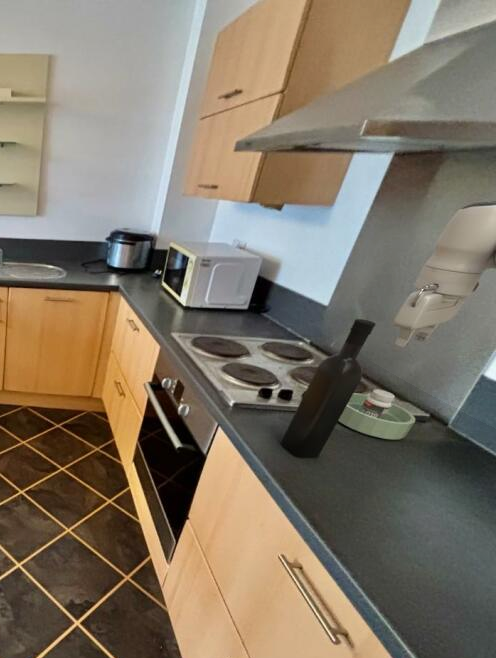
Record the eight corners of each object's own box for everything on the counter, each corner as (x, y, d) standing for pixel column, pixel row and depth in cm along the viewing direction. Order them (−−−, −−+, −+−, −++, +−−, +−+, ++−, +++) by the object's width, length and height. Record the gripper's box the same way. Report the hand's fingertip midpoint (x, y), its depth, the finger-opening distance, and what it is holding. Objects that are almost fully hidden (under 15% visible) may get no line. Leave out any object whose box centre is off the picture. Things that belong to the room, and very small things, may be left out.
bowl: (415, 433, 101) (426, 416, 98) (386, 447, 95) (397, 429, 92) (347, 404, 112) (356, 388, 110) (317, 415, 106) (326, 398, 104)
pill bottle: (350, 418, 104) (366, 389, 100) (361, 415, 106) (377, 387, 102) (371, 429, 100) (390, 399, 96) (382, 425, 102) (400, 396, 98)
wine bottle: (277, 442, 94) (339, 315, 80) (301, 442, 94) (366, 317, 80) (295, 458, 89) (364, 326, 75) (320, 458, 89) (393, 327, 75)
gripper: (443, 290, 82) (406, 354, 88) (483, 283, 90) (446, 342, 97) (403, 282, 87) (371, 343, 93) (445, 276, 95) (413, 333, 102)
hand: (410, 342), depth 95 cm, fingers open, 8 cm apart
